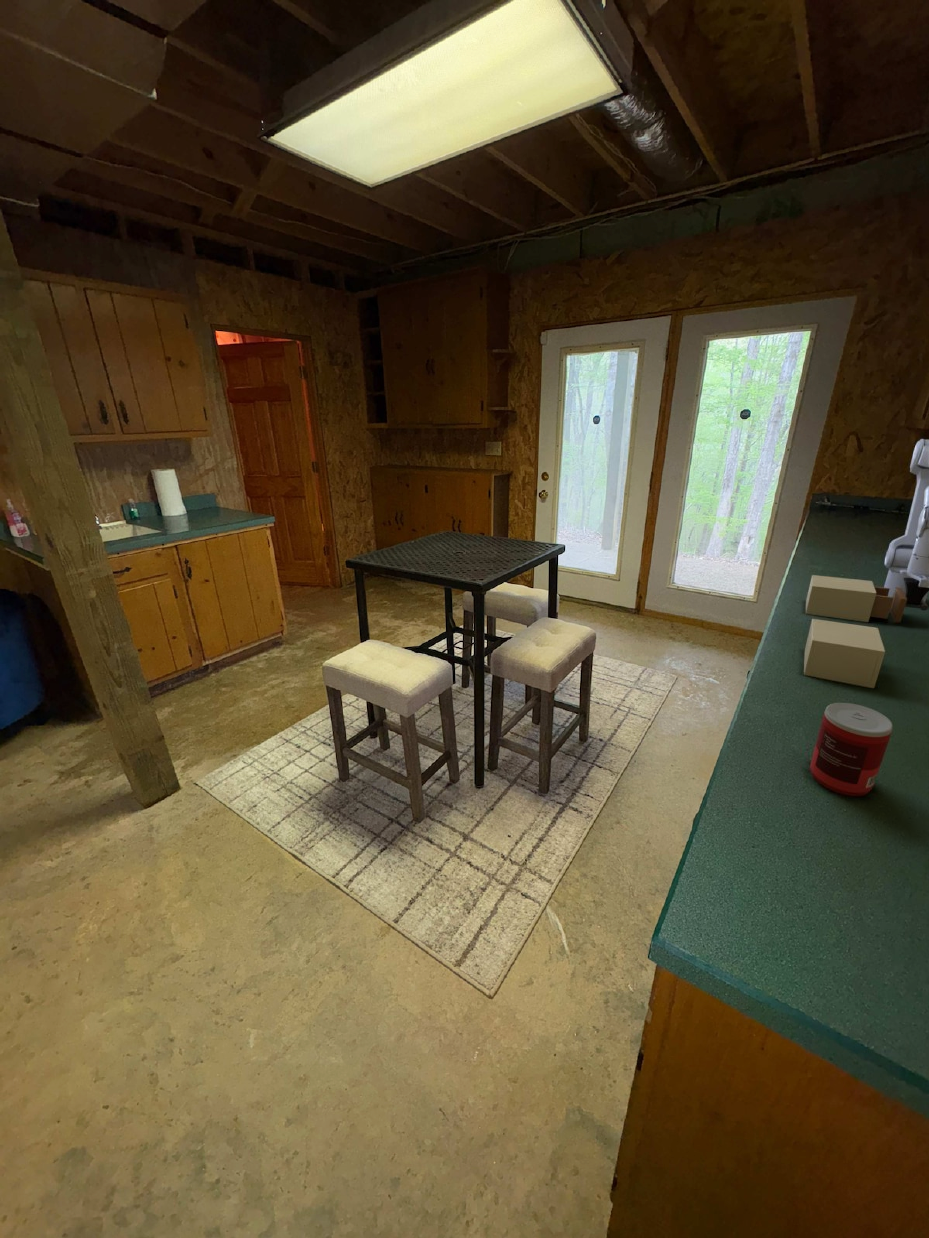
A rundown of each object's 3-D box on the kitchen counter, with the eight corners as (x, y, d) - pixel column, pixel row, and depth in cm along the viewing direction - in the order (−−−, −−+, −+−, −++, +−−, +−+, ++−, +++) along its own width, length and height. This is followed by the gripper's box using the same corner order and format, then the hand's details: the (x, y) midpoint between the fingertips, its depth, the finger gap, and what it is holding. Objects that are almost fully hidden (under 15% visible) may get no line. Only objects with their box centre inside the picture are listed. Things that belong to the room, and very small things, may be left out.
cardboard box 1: (864, 608, 135) (872, 581, 132) (868, 622, 126) (876, 593, 123) (806, 601, 142) (812, 575, 139) (805, 613, 133) (812, 585, 130)
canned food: (859, 767, 75) (879, 705, 71) (882, 802, 68) (905, 737, 64) (802, 758, 77) (817, 698, 73) (817, 792, 70) (836, 728, 66)
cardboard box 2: (804, 650, 112) (812, 618, 109) (867, 661, 106) (877, 627, 103) (803, 675, 102) (812, 640, 99) (874, 688, 96) (885, 651, 93)
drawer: (917, 612, 128) (924, 590, 126) (924, 625, 120) (932, 602, 118) (837, 602, 138) (843, 581, 135) (839, 614, 130) (845, 592, 127)
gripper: (901, 547, 127) (887, 596, 132) (910, 560, 116) (894, 612, 121) (937, 550, 124) (921, 600, 129) (950, 563, 113) (931, 617, 118)
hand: (910, 606), depth 125 cm, fingers closed, pressing on drawer
